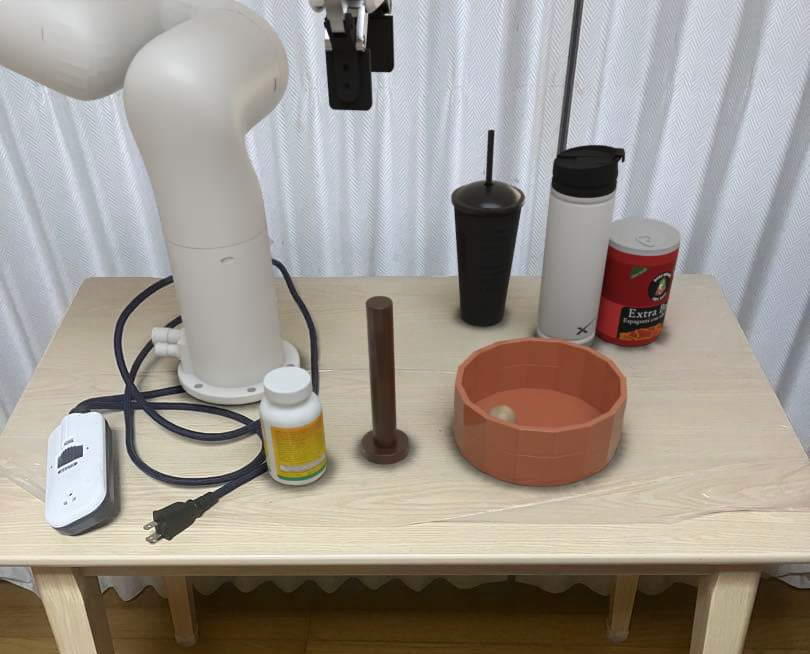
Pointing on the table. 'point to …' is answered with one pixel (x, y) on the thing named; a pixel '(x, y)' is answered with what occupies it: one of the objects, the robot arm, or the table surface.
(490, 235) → the drinking cup
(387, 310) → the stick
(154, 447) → the table surface
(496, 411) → the bead
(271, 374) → the supplement bottle
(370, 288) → the table surface
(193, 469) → the table surface
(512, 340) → the bowl
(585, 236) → the travel mug
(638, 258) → the canned food
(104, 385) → the table surface
